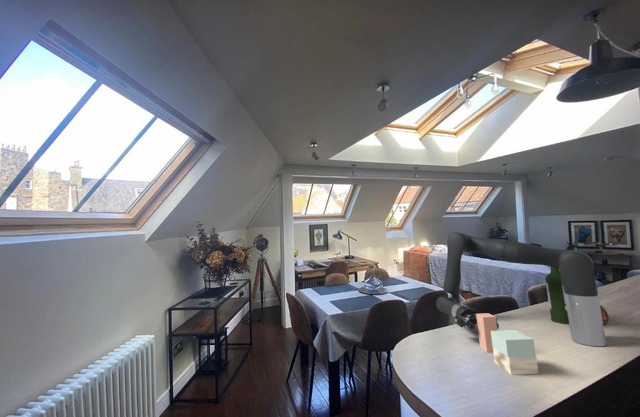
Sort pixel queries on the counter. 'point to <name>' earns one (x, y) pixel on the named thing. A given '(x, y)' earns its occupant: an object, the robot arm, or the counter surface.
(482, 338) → the peach block
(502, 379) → the counter surface
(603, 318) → the tin
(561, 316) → the wine bottle
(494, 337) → the tower top block
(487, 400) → the counter surface
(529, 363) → the tower base block
